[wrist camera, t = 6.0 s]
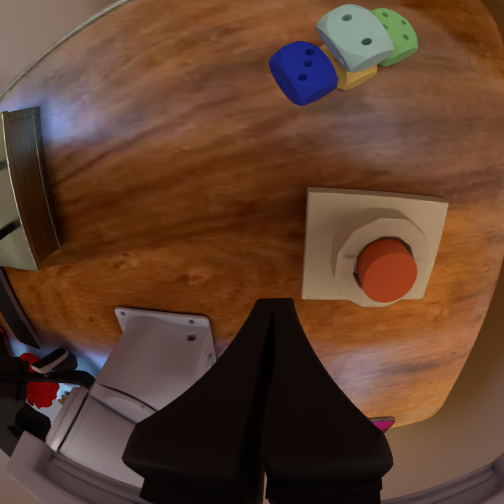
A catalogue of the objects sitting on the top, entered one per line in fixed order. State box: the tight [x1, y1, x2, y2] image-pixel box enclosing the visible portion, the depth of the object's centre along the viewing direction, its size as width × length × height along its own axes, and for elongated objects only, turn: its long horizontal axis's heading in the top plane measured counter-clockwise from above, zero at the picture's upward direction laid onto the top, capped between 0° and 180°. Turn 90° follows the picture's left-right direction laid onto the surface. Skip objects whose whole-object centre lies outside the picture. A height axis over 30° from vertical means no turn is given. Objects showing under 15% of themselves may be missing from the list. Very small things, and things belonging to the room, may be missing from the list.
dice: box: [269, 4, 418, 106], centre depth 11 cm, size 8×3×6 cm, turn 125°
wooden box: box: [8, 106, 64, 263], centre depth 17 cm, size 8×13×4 cm, turn 2°
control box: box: [301, 187, 449, 307], centre depth 18 cm, size 10×8×3 cm
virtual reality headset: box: [0, 348, 96, 458], centre depth 24 cm, size 19×22×15 cm
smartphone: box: [0, 268, 43, 350], centre depth 29 cm, size 7×1×15 cm
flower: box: [19, 352, 60, 409], centre depth 31 cm, size 8×8×8 cm
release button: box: [357, 239, 417, 303], centre depth 16 cm, size 4×4×2 cm
